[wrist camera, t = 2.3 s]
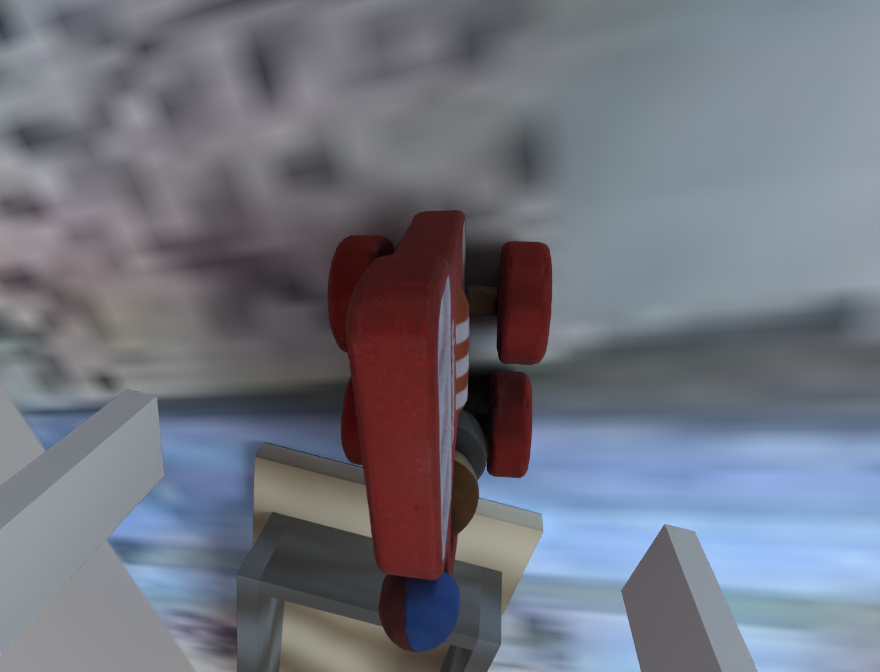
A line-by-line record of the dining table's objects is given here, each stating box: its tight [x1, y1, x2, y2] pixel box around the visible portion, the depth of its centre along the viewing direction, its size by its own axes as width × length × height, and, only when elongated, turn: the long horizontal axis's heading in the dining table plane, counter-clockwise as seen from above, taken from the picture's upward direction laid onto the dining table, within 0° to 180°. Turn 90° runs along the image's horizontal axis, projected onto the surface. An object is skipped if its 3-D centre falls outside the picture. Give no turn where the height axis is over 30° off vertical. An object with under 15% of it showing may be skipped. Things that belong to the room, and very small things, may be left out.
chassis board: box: [237, 443, 543, 672], centre depth 26 cm, size 24×14×4 cm, turn 168°
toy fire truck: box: [328, 210, 552, 653], centre depth 14 cm, size 7×12×10 cm, turn 179°
